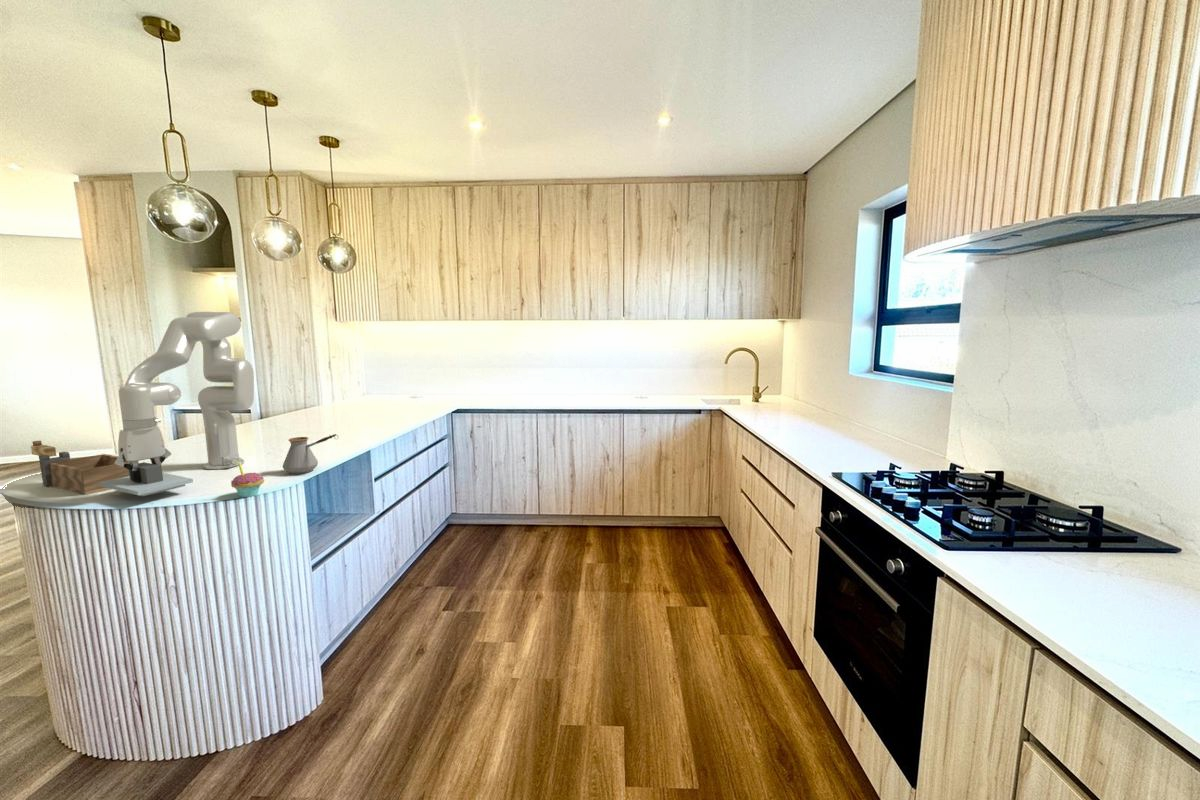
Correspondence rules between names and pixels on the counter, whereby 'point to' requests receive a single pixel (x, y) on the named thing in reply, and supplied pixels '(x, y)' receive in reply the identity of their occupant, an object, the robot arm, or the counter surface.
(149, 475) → the lid
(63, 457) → the chest
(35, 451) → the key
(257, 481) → the cupcake
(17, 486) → the counter surface
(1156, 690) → the counter surface
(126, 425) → the robot arm
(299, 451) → the coffee pot
